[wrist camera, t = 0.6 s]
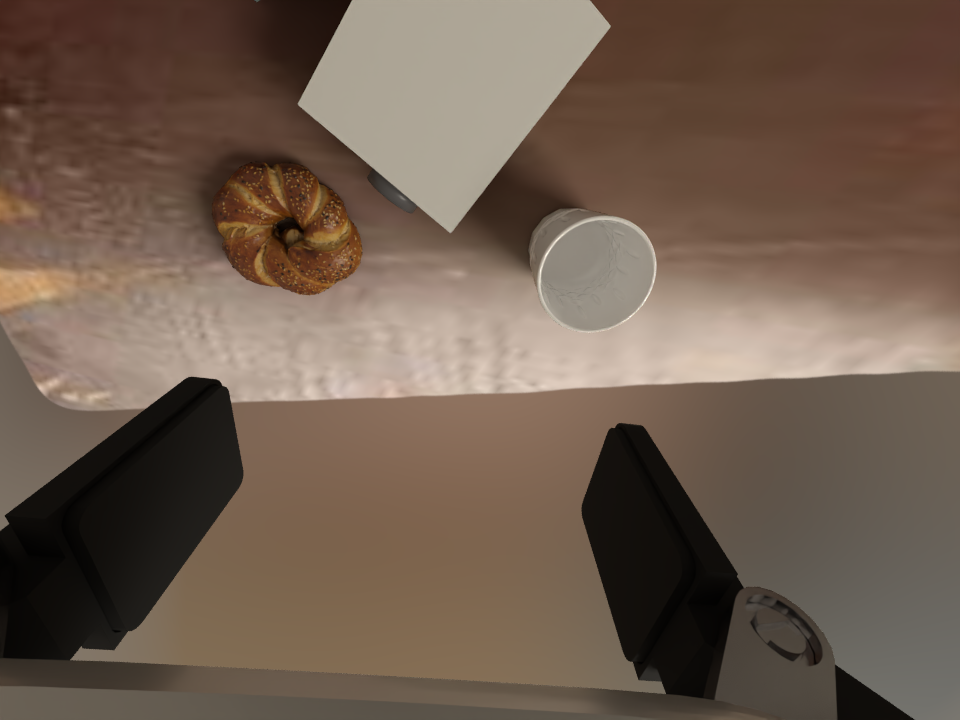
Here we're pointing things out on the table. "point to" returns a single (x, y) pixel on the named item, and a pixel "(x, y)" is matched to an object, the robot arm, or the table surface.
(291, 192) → the pretzel
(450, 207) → the case
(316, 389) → the table surface
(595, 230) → the white cup
